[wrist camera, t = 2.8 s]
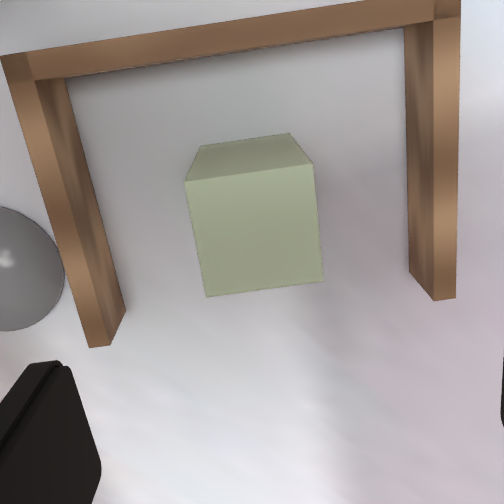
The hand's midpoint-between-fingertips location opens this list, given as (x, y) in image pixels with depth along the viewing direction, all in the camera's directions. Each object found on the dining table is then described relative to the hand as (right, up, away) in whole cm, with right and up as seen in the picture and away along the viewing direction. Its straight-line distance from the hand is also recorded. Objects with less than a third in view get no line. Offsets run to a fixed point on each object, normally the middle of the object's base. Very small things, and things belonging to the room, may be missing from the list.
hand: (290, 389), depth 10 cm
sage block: (-1, +7, +17) cm, 19 cm away
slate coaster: (-16, +2, +19) cm, 25 cm away
